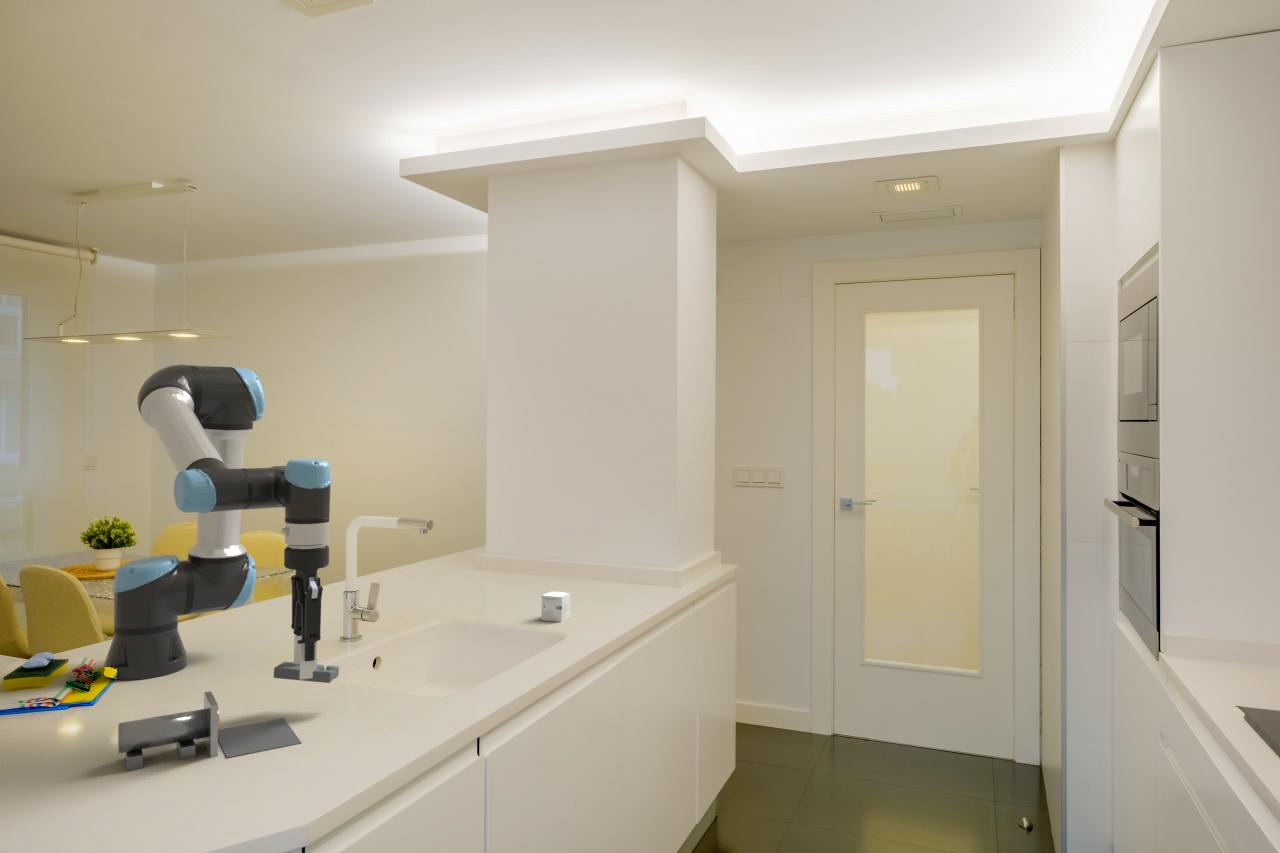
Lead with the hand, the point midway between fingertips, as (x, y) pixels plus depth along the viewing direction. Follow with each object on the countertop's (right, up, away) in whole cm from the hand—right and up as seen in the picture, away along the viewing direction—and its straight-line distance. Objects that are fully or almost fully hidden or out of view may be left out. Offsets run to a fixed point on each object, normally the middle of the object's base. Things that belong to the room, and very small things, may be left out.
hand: (304, 674), depth 150 cm
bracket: (-4, -2, +3) cm, 5 cm away
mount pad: (-3, -7, -12) cm, 14 cm away
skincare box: (+38, -8, +72) cm, 82 cm away
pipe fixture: (-13, -7, -21) cm, 26 cm away
